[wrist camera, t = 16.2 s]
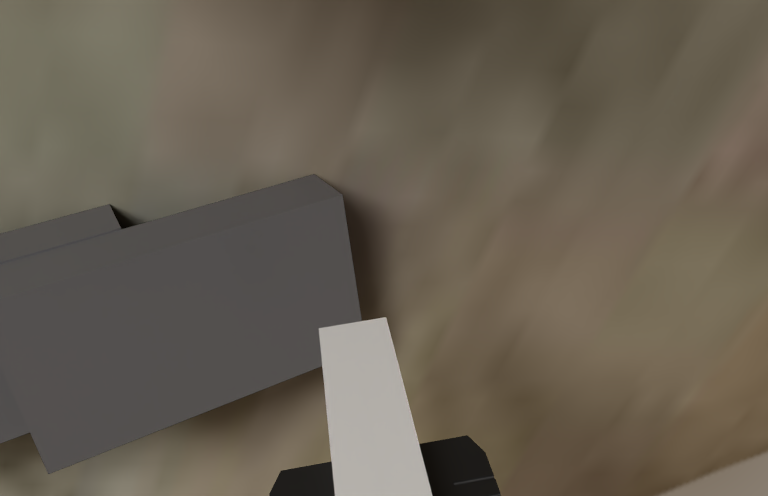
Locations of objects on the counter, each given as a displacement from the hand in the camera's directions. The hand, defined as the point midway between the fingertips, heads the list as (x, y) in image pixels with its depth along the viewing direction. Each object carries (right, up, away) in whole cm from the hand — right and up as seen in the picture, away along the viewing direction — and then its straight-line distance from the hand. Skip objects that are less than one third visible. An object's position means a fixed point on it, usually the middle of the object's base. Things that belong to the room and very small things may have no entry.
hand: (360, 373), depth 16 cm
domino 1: (-1, +2, +5) cm, 6 cm away
